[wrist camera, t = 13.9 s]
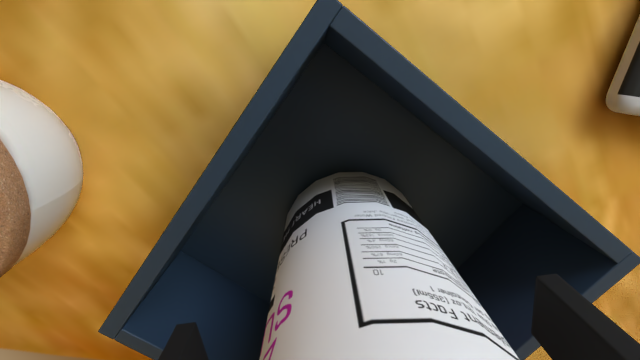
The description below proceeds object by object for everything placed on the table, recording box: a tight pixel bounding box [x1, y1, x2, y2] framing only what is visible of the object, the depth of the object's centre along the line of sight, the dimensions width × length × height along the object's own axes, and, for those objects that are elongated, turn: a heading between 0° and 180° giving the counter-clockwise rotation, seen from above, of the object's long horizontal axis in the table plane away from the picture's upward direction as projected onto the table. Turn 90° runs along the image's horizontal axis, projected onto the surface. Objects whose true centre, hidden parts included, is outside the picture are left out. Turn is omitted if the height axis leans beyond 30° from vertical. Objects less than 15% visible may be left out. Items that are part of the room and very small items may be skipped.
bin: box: [98, 0, 640, 360], centre depth 19 cm, size 18×18×8 cm
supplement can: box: [259, 172, 520, 360], centre depth 14 cm, size 8×8×15 cm
